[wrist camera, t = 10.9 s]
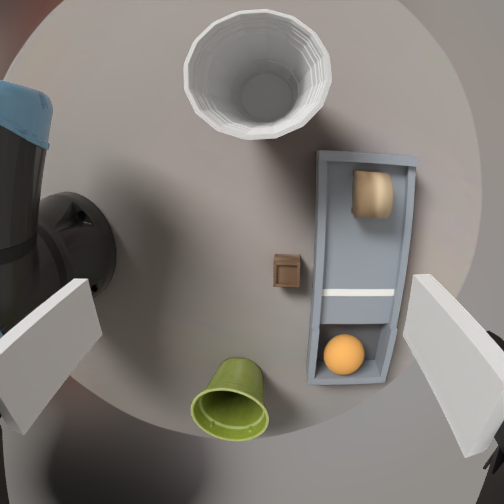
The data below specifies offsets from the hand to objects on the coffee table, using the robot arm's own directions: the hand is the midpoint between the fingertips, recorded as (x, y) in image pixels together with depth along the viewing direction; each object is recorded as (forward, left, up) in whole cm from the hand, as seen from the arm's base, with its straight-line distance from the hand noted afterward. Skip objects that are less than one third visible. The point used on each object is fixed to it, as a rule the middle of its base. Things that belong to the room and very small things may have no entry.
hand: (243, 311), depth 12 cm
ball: (+9, -17, -21) cm, 29 cm away
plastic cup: (-1, +12, -24) cm, 27 cm away
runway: (+9, -8, -24) cm, 27 cm away
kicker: (+9, +2, -22) cm, 24 cm away
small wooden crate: (+1, -7, -24) cm, 25 cm away
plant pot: (-5, -23, -24) cm, 34 cm away
